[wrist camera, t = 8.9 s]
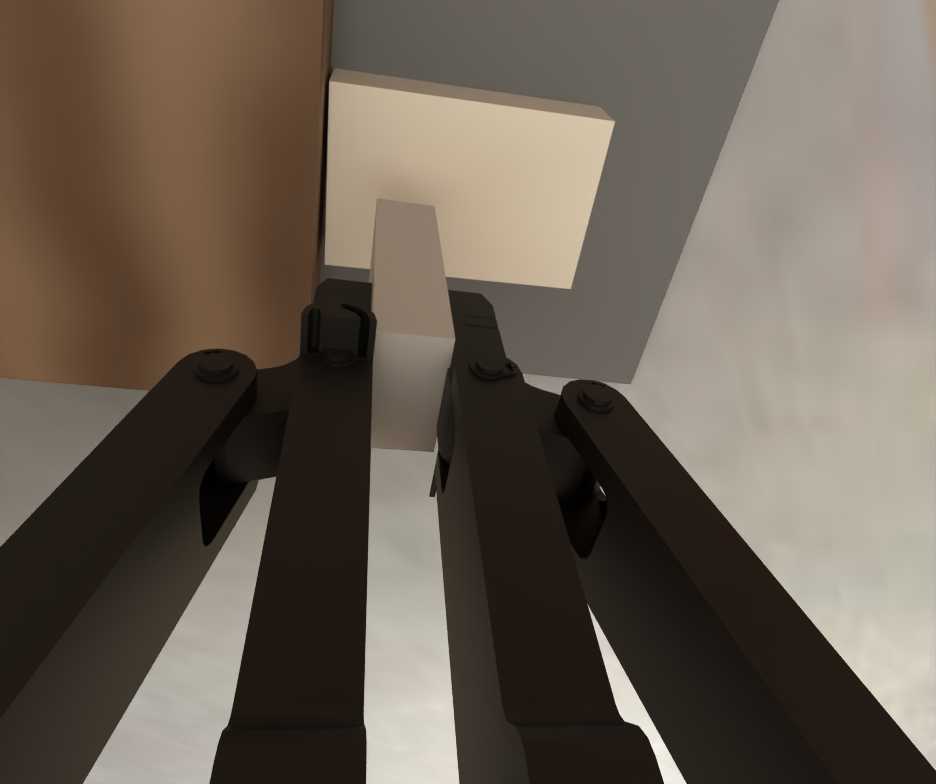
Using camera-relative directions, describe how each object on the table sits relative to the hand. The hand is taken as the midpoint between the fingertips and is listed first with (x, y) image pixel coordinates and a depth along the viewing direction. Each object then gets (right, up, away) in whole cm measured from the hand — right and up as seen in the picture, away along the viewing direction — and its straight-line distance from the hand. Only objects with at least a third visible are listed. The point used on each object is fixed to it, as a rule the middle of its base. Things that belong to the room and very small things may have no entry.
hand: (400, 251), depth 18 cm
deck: (-10, +5, +5) cm, 12 cm away
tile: (+1, +4, +6) cm, 7 cm away
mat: (+4, +4, +7) cm, 9 cm away
